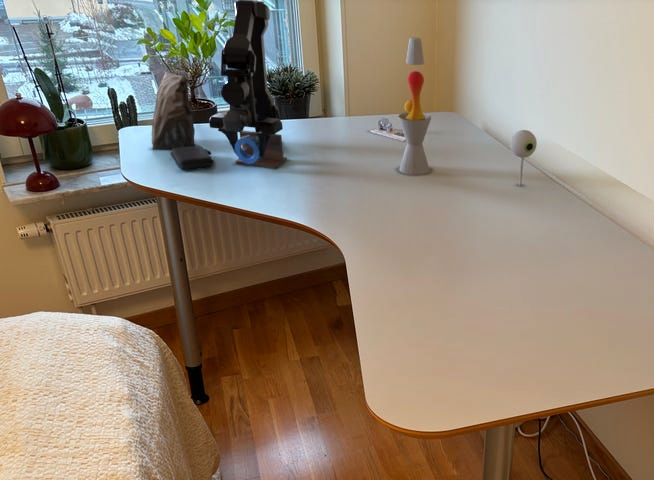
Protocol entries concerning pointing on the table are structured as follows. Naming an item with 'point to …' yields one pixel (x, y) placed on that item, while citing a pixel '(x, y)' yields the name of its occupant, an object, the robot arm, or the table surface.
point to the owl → (172, 115)
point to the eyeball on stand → (523, 146)
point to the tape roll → (242, 154)
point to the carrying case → (192, 158)
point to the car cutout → (388, 130)
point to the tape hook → (272, 152)
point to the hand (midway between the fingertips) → (249, 155)
